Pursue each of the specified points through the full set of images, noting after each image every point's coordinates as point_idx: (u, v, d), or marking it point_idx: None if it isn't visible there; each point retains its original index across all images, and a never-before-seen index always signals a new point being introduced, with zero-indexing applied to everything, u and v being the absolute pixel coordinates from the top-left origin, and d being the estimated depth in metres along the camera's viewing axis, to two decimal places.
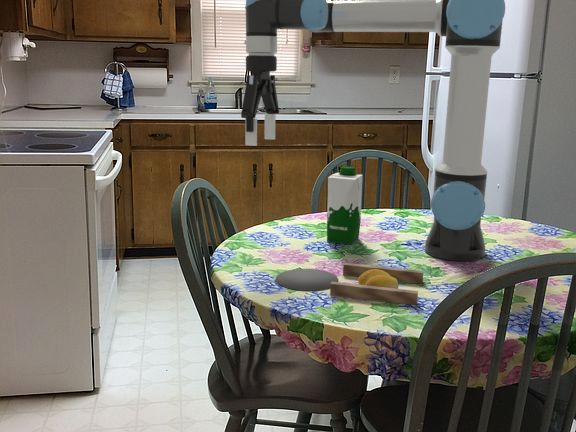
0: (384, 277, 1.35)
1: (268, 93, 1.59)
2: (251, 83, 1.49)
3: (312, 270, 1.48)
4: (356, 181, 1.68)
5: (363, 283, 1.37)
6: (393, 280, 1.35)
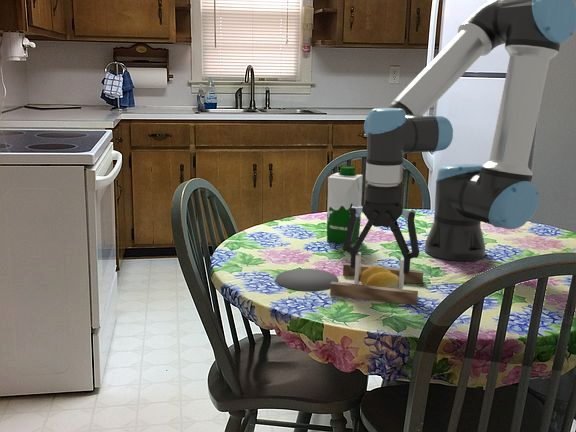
0: (385, 274, 1.35)
1: None
2: None
3: (312, 270, 1.48)
4: (356, 181, 1.68)
5: (364, 280, 1.37)
6: (394, 277, 1.36)
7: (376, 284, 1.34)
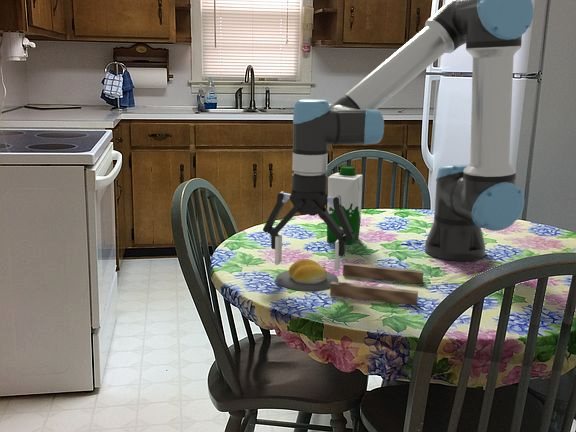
0: (312, 266, 1.40)
1: None
2: None
3: None
4: (356, 181, 1.68)
5: (292, 272, 1.41)
6: (321, 269, 1.40)
7: (302, 276, 1.38)
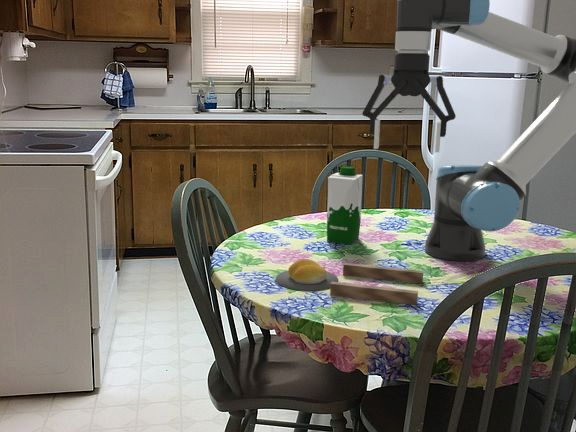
0: (312, 266, 1.40)
1: (422, 96, 1.38)
2: None
3: None
4: (356, 181, 1.68)
5: (292, 273, 1.41)
6: (321, 269, 1.40)
7: (302, 276, 1.38)
